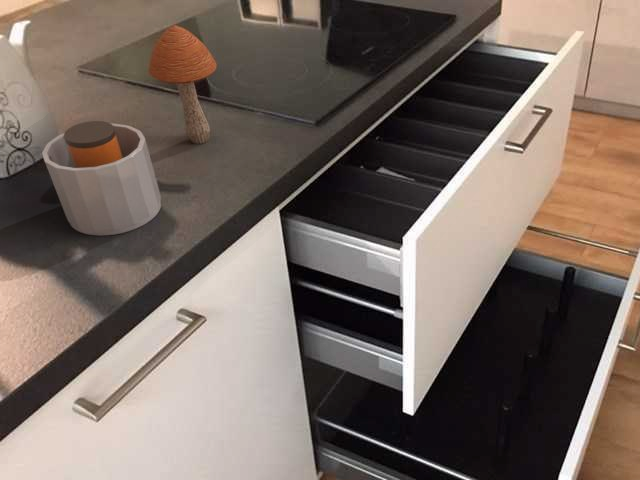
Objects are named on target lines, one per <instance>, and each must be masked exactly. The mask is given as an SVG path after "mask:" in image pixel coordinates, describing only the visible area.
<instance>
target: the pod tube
mask: <svg viewBox="0 0 640 480" xmlns="http://www.w3.org/2000/svg"><path fill="white" fill-rule="evenodd" d="M63 133H64V139H65V141H66V143H67V145H68V148H69V151H70V154H71V157H72V159H73V162H74V165H75V168H86V167H97V166H101V165H105V164H109V163H113V162H115V161H118V160H120V159H122V158H123V157H122V154H121V150H120V147H119V144H118V140H117V137H116V132H115V129H114V126H113V125H112V123H110V122H107V121H103V120H90V121H84V122H81V123H77V124H74V125H73V126H71V127H69V128H67V129H66V130H65V132H63Z"/></svg>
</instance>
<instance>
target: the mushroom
mask: <svg viewBox="0 0 640 480" xmlns="http://www.w3.org/2000/svg"><path fill="white" fill-rule="evenodd" d="M151 52H152V53H151V54H150V59H149V65H148V73H149V75H150V76H151V77H153V79H156V80H158V81H159V82H163V83H168V84H175V85H176V89H177V91H178V94H179V97H180V100H181V104H182V111H183V119H184V126H185V133H186V136H187V137H188V138H189V140H190V141H191V142H192V143H193V144H204V143H206V142H208V141H209V140H210V135H211V128H210V125H209V123H208V120H207V118H206V115H205V113H204V111H203V109H202V107H201V105H200V101H199V99H198V95H197V90H196V85H195V82H199V81H201V80H203V79H204V80H205V79H207V78H208V77H209V76H211V75H212V74H213V73H214V72H215V71H216V69H217V65H218V64H217V62H216V60H215V58H214V57H213V55H212V54H211V52H210V50H209V49H208V47H206V45H205V44H204V43H203V42H202V41H201V40H200V39H199V38H198V37H197V36H195V35H194V34H193V33H192V32H191V31H189V30H187V29H185V28H184V27H181V26H179V25H175V24H173V25H171V26H170V27H169V28H167V29H166V30H165V31H164V32H163V33H162V34H161V35H160V37H159V38H158V40H157V41H156V42H155V45H154V47H153V49H152V51H151Z"/></svg>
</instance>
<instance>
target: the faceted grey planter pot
mask: <svg viewBox="0 0 640 480" xmlns="http://www.w3.org/2000/svg"><path fill="white" fill-rule="evenodd" d="M111 124H112V125H113V126H114V129H115V132H116V137H117V140H118V144H119V147H120V150H121V154H122V157H123V158H122V159H120V160H118V161H115V162H113V163H109V164H105V165H101V166H97V167H86V168H75V165H74V162H73V159H72V157H71V154H70V151H69V148H68V145H67V143H66V141H65V139H64V133H65V132H63V133H61V134H58V135H57V136H56V137H54V138H52V140H50V141H48V142H47V143H46V145H45V146H44V148H43V150H42V152H41V155H42V159H43V161H44V163H45V167H46V169H47V171H48V174H49V176H50V179H51V182H52V184H53V186H54V189H55V191H56V194H57V196H58V199H59V202H60V204H61V207H62V209H63V212H64V215H65V217H66V220H67V222H68V224H69V226H70V227H71V228H72V229H73V230H75V231H77V232H79V233H81V234H84V235H89V236H99V237H100V236H102V237H103V236H105V237H106V236H113V235H120V234H124V233H127V232H131V231H134V230H137V229H138V228H139V229H140V228H141V227H142V226H144V225H146V224H148V223H149V222H150V221H152V220H153V219H154V218H155V217H157V215H158V214H159V212H160V210H161V208H162V196H161V192H160V188H159V184H158V181H157V178H156V177H157V176H156V173H155V170H154V165H153V162H152V159H151V154H150V151H149V147H148V144H147V140H146V138H145V136H144V134H143V132H142V131H141V130H139V129H137V128H135V127H133V126H131V125H126V124H121V123H120V124H119V123H114V122H113V123H111Z"/></svg>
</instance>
